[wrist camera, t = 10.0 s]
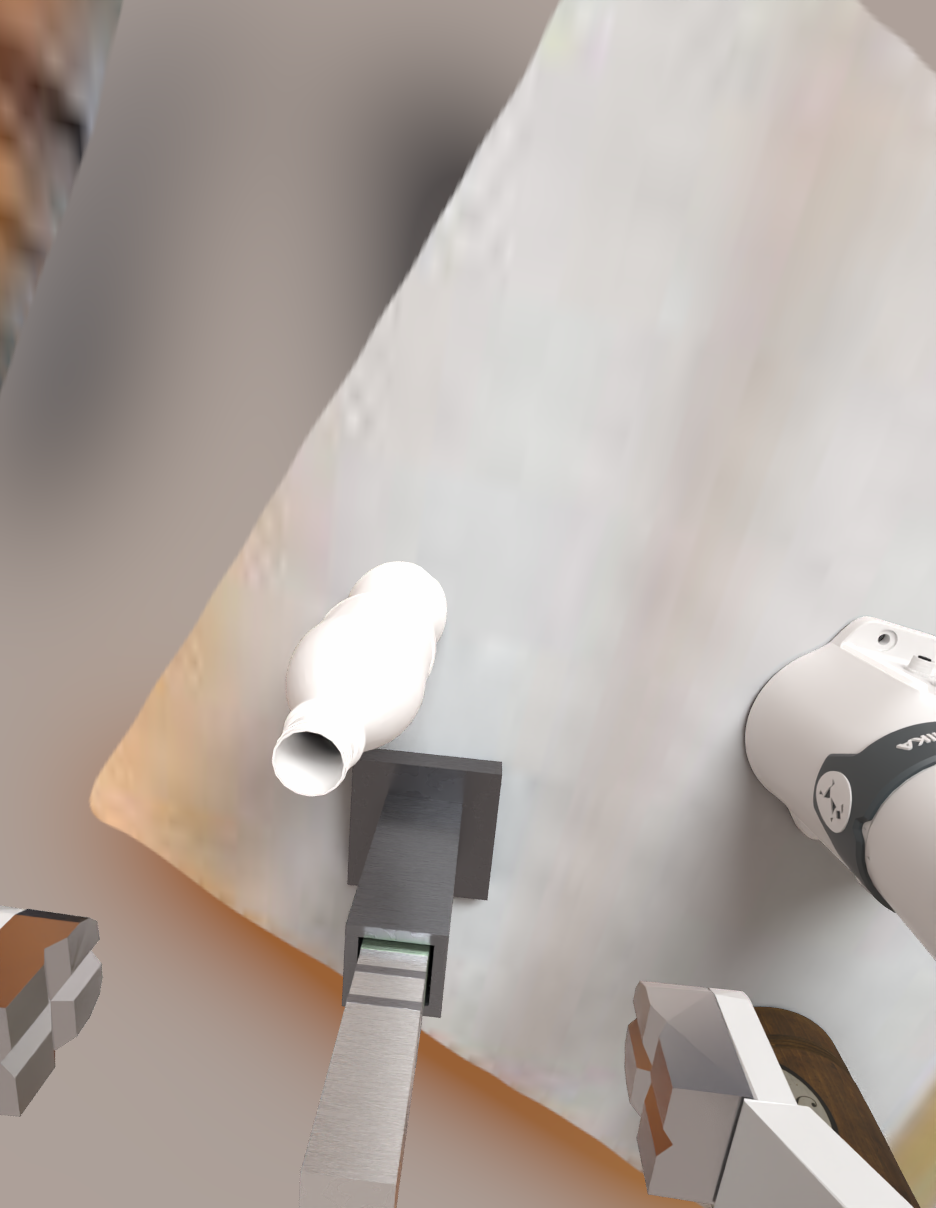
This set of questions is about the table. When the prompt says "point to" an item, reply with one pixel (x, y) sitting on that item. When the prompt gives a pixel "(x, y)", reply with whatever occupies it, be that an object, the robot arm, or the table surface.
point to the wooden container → (829, 1089)
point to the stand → (417, 851)
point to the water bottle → (359, 676)
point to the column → (369, 1083)
